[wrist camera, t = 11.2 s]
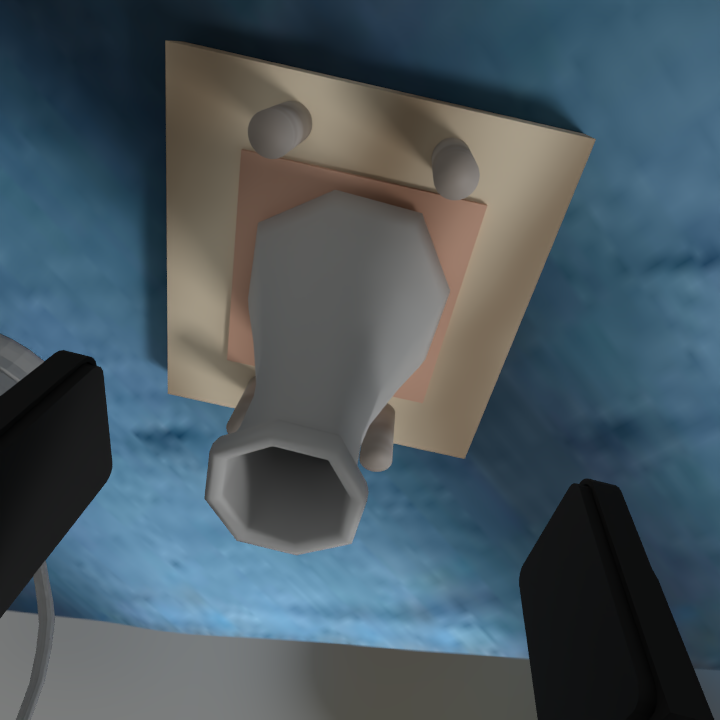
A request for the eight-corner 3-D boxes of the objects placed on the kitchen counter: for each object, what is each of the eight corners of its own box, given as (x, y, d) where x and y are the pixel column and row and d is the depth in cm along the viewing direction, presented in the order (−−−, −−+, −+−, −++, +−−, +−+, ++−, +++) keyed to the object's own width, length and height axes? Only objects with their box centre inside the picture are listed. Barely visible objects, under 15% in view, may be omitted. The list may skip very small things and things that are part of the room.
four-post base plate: (584, 133, 16) (628, 155, 13) (462, 440, 23) (469, 508, 20) (182, 41, 16) (116, 37, 13) (179, 378, 23) (137, 435, 19)
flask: (449, 375, 20) (471, 622, 11) (267, 378, 21) (159, 608, 12) (450, 180, 16) (485, 326, 7) (228, 194, 17) (33, 339, 8)
